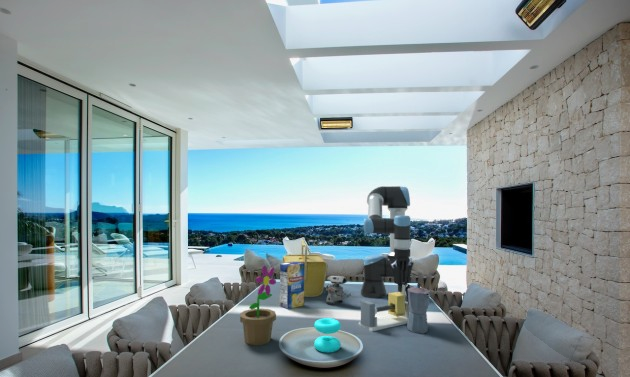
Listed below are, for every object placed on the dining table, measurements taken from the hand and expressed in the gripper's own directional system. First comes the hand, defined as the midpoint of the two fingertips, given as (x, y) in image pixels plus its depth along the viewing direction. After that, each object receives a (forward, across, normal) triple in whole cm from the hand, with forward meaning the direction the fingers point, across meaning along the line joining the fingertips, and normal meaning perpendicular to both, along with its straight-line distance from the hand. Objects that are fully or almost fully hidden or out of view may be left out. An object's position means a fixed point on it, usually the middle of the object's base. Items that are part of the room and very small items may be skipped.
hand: (401, 298), depth 168 cm
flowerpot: (+10, +68, -11) cm, 69 cm away
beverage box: (+10, +34, -45) cm, 58 cm away
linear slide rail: (+10, +9, 0) cm, 13 cm away
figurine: (+10, +12, -36) cm, 39 cm away
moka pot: (+10, +3, +12) cm, 16 cm away
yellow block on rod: (+7, +3, 0) cm, 8 cm away
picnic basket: (+10, +14, -68) cm, 71 cm away
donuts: (+10, +48, +10) cm, 50 cm away
